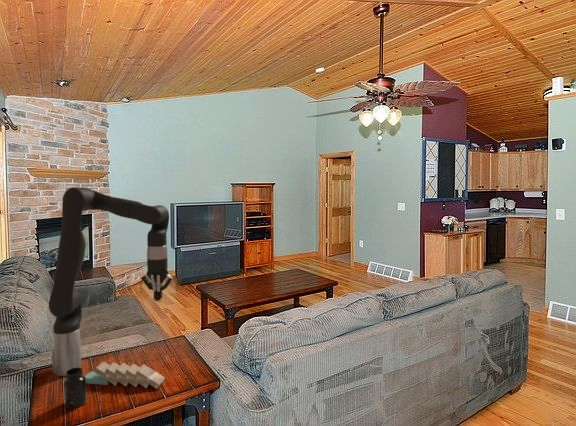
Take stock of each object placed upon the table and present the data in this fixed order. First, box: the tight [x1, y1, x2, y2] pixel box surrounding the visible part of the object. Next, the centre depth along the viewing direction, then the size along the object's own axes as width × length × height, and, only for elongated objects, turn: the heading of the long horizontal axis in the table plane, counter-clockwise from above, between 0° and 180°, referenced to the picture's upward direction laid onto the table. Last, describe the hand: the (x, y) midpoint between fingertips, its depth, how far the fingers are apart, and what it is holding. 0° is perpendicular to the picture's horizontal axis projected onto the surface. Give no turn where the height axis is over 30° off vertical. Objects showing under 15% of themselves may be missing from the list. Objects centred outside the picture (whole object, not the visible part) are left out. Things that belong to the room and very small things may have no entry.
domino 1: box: [84, 370, 111, 386], centre depth 146 cm, size 2×5×10 cm
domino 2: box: [93, 361, 120, 387], centre depth 145 cm, size 2×5×10 cm
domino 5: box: [125, 363, 151, 389], centre depth 143 cm, size 2×5×10 cm
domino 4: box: [114, 362, 140, 388], centre depth 144 cm, size 2×5×10 cm
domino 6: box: [135, 363, 166, 390], centre depth 143 cm, size 2×5×10 cm
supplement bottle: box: [62, 367, 88, 410], centre depth 130 cm, size 7×7×12 cm
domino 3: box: [104, 361, 130, 387], centre depth 144 cm, size 2×5×10 cm
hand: (158, 300), depth 147 cm, fingers closed
